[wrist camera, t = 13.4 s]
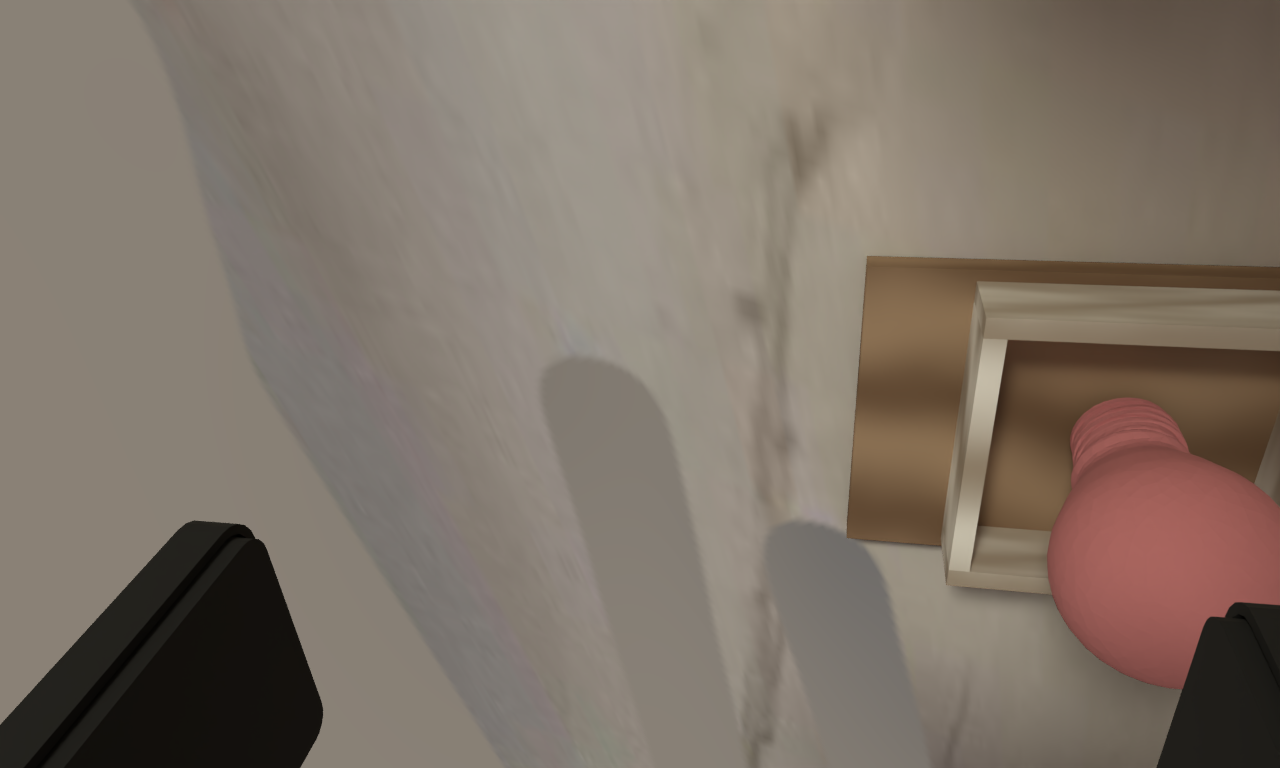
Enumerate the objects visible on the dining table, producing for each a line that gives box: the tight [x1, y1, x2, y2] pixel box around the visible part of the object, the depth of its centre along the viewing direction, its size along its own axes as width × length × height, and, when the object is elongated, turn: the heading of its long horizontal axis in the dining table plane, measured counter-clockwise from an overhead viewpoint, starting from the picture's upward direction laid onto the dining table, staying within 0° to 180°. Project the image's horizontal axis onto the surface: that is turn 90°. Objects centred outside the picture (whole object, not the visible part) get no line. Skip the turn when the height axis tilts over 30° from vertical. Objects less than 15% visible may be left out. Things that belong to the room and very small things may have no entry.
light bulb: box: [1047, 398, 1280, 689], centre depth 32 cm, size 7×7×12 cm
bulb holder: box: [847, 256, 1280, 595], centre depth 36 cm, size 13×20×4 cm, turn 93°
